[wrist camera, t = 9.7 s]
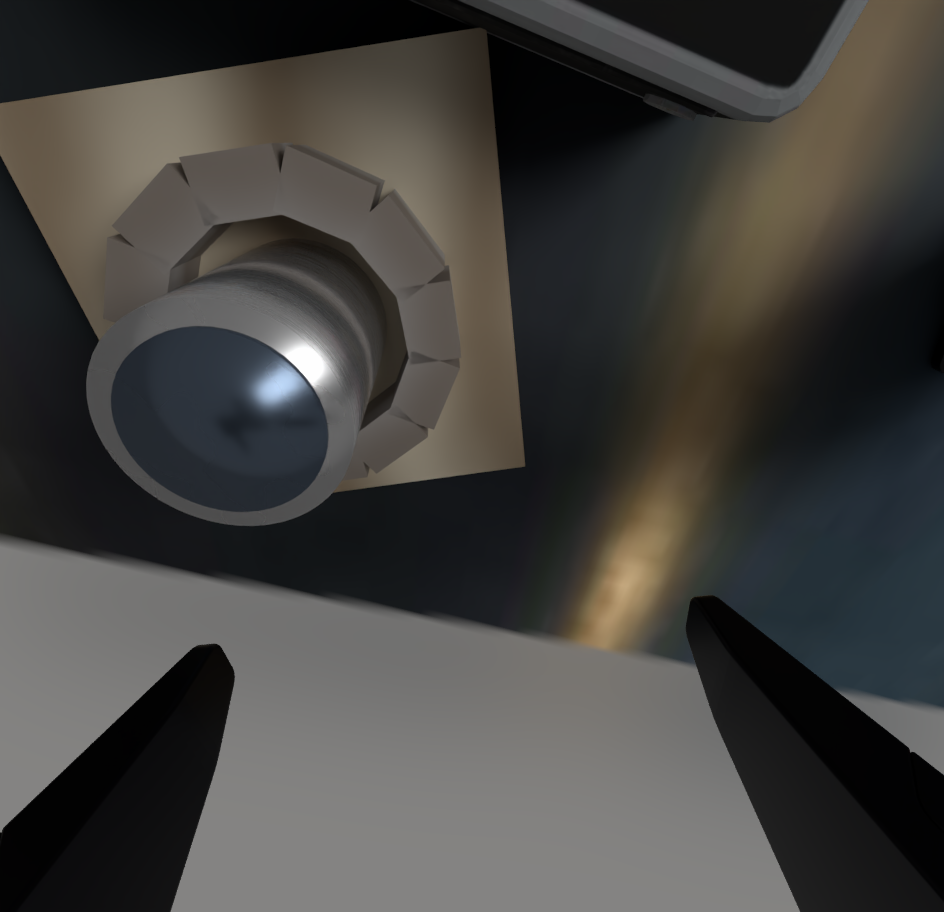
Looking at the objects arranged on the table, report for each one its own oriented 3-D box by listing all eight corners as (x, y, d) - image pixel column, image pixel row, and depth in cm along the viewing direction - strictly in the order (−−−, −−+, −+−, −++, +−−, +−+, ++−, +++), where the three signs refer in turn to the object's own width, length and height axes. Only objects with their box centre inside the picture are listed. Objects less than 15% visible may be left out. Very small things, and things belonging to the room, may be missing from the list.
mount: (483, 33, 13) (492, 8, 11) (521, 452, 20) (533, 497, 18) (4, 109, 14) (-97, 102, 11) (201, 496, 21) (166, 546, 18)
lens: (401, 384, 17) (378, 513, 11) (257, 405, 17) (155, 544, 11) (366, 226, 15) (310, 278, 9) (197, 252, 15) (23, 322, 9)
